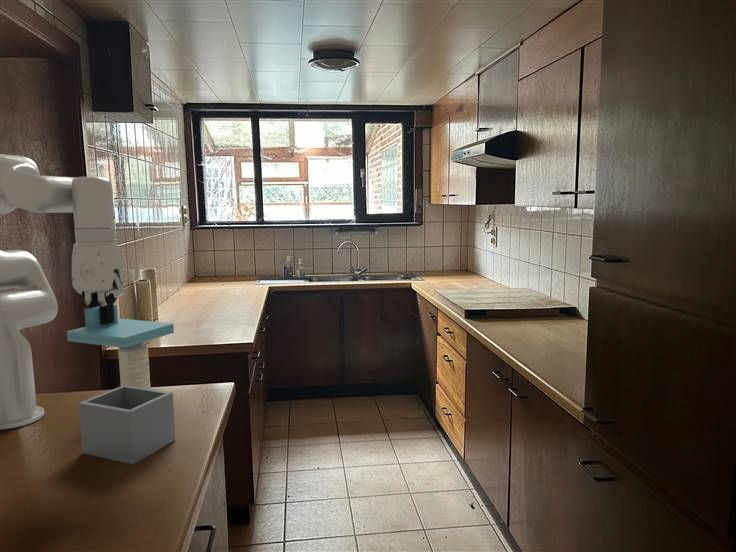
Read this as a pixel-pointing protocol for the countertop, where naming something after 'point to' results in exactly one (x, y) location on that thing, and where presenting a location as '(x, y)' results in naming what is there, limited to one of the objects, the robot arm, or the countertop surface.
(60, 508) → the countertop surface
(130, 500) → the countertop surface
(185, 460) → the countertop surface
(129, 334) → the lid
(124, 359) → the aerosol can
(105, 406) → the tub
